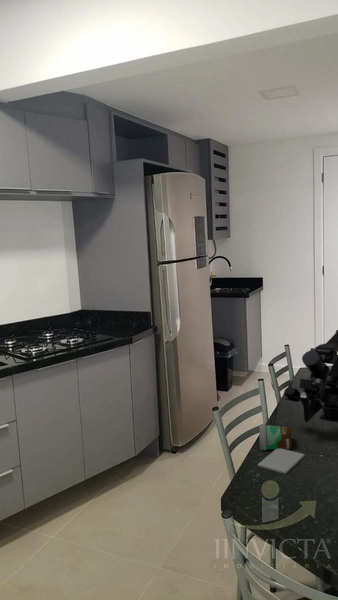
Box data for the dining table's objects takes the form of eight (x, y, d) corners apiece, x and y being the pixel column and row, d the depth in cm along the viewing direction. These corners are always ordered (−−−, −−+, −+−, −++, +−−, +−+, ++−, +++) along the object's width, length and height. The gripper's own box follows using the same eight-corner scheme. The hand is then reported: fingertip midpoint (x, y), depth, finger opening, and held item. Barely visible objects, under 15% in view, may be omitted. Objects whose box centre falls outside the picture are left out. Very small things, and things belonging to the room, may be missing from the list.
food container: (291, 431, 147) (259, 431, 149) (292, 450, 148) (259, 450, 150) (289, 418, 159) (259, 417, 161) (290, 435, 160) (260, 435, 162)
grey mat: (278, 449, 151) (277, 447, 151) (304, 456, 145) (304, 454, 145) (257, 466, 141) (257, 464, 141) (285, 474, 135) (285, 472, 135)
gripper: (284, 365, 163) (271, 406, 157) (338, 371, 151) (326, 416, 144) (295, 379, 170) (283, 419, 164) (347, 387, 158) (336, 431, 151)
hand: (306, 421), depth 156 cm, fingers closed
